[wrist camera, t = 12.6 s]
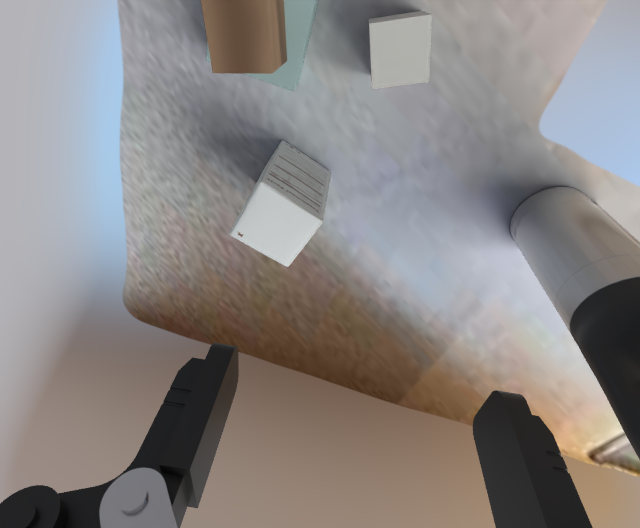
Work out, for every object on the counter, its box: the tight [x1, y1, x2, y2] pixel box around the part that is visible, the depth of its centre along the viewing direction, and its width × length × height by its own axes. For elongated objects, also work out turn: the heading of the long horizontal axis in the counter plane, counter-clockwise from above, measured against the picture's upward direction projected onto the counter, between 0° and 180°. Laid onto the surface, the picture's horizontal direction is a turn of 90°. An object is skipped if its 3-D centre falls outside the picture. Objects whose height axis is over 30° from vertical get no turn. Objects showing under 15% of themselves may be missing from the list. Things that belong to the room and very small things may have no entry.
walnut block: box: [201, 0, 287, 74], centre depth 31 cm, size 5×5×7 cm
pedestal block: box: [206, 0, 318, 91], centre depth 35 cm, size 9×9×4 cm
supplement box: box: [229, 140, 331, 267], centre depth 41 cm, size 7×7×13 cm
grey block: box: [369, 11, 432, 89], centre depth 34 cm, size 5×5×7 cm
